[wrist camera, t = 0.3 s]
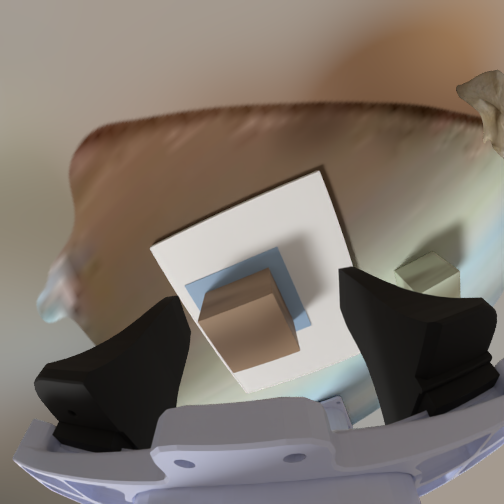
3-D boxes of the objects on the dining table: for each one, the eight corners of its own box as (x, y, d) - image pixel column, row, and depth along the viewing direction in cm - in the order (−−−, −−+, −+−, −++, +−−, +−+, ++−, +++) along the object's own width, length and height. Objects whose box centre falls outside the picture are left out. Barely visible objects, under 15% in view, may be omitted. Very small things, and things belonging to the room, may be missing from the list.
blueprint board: (372, 343, 26) (374, 347, 25) (246, 389, 28) (246, 394, 27) (317, 170, 20) (319, 171, 19) (151, 245, 22) (149, 248, 21)
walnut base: (293, 320, 23) (300, 350, 20) (235, 341, 24) (233, 373, 20) (268, 267, 22) (272, 293, 18) (205, 293, 22) (197, 321, 19)
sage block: (436, 288, 24) (460, 311, 20) (400, 307, 24) (421, 334, 20) (432, 250, 22) (459, 271, 18) (393, 270, 23) (417, 295, 19)
